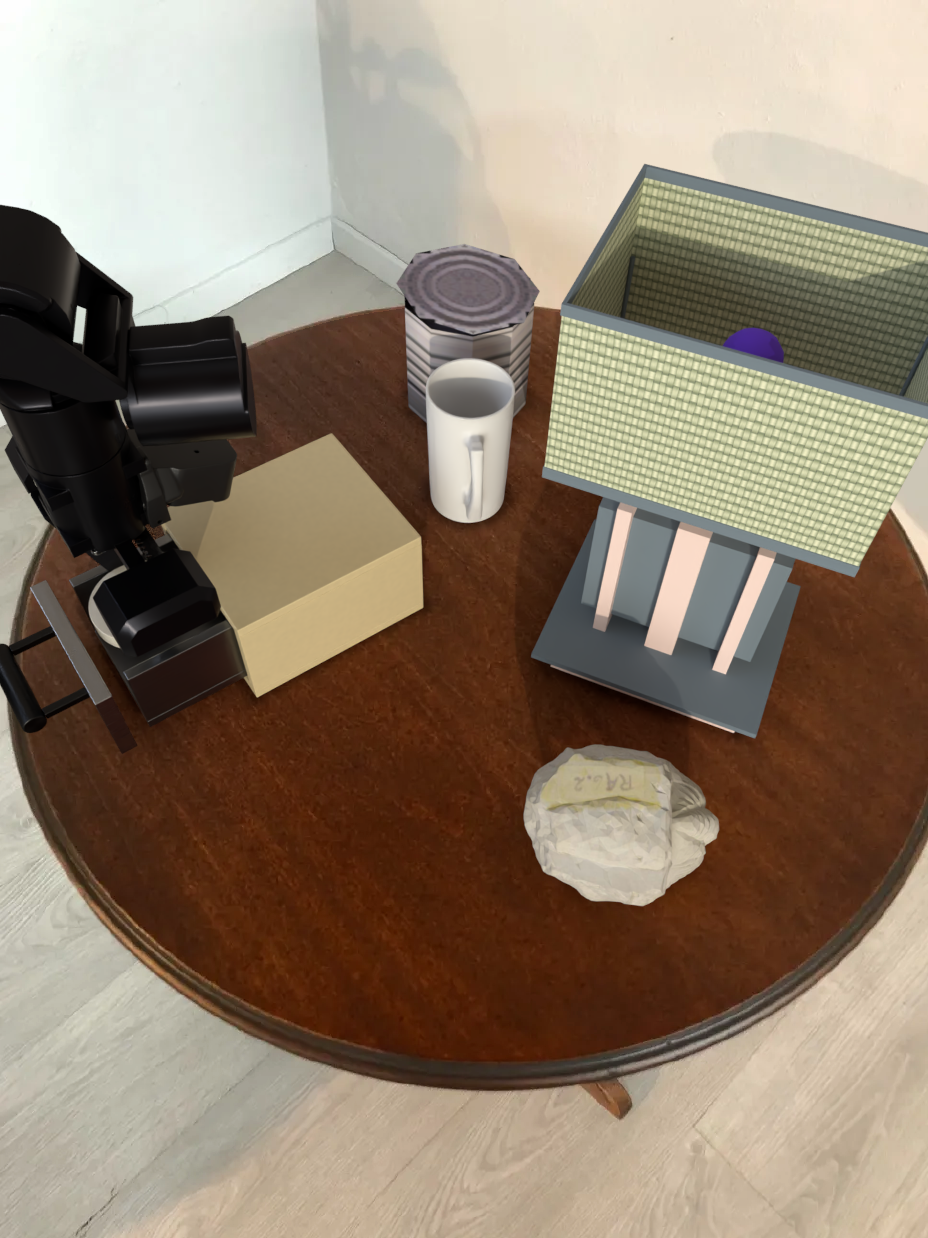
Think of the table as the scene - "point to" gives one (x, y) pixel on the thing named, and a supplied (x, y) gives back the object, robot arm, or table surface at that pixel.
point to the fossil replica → (617, 823)
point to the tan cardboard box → (303, 559)
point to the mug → (469, 437)
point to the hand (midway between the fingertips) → (141, 604)
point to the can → (466, 316)
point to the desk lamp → (727, 430)
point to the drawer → (124, 665)
